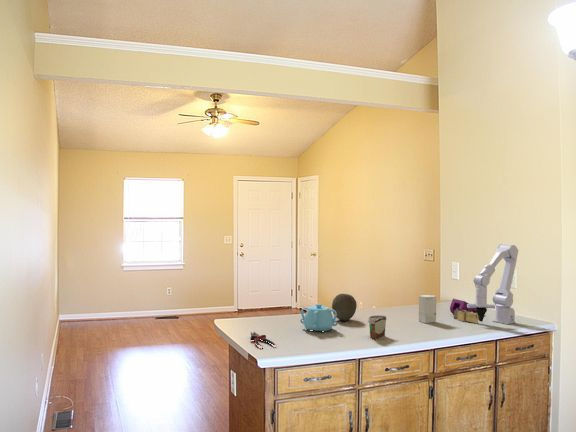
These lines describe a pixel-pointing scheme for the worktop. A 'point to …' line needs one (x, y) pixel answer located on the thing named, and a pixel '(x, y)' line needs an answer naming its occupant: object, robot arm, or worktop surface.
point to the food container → (377, 326)
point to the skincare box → (427, 308)
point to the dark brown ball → (344, 306)
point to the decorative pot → (318, 318)
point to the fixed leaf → (457, 313)
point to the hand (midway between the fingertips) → (480, 321)
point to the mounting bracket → (460, 306)
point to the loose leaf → (468, 316)
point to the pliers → (255, 337)
